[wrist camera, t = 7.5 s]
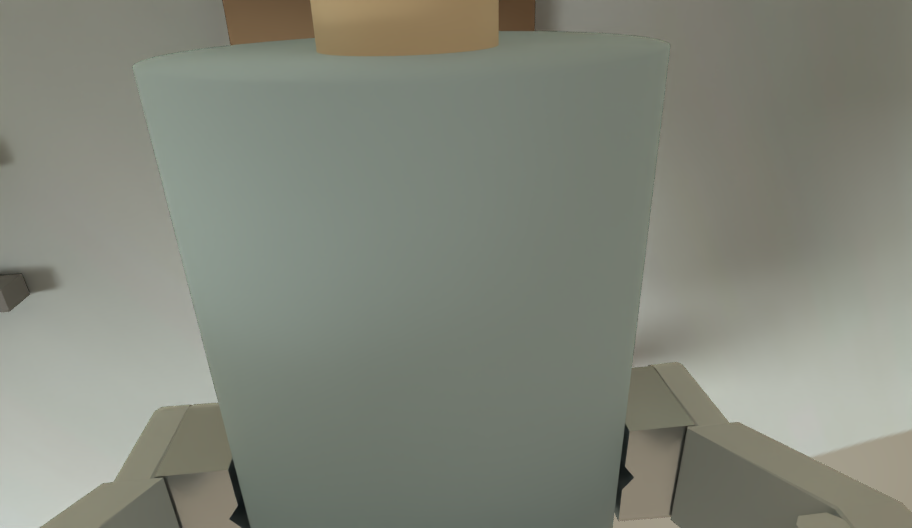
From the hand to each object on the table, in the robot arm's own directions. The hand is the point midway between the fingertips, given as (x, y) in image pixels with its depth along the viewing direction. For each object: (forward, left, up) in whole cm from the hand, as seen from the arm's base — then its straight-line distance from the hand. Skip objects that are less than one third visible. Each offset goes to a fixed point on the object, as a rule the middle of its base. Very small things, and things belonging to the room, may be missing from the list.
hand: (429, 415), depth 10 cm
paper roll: (0, 0, +1) cm, 1 cm away
